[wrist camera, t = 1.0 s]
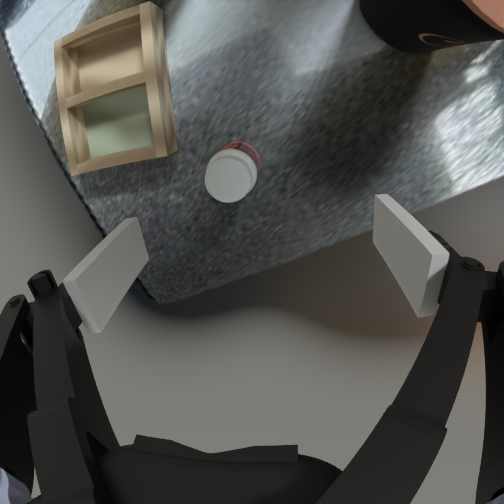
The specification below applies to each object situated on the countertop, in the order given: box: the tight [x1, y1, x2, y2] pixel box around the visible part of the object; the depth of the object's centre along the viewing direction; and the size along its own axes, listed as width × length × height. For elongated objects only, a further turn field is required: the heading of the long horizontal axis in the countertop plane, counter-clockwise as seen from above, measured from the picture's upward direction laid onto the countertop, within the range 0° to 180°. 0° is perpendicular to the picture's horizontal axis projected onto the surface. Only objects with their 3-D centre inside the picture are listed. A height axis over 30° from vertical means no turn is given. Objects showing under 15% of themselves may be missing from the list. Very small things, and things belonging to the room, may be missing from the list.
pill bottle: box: [205, 141, 260, 203], centre depth 28 cm, size 5×5×8 cm
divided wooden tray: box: [54, 1, 179, 176], centre depth 26 cm, size 18×13×4 cm
